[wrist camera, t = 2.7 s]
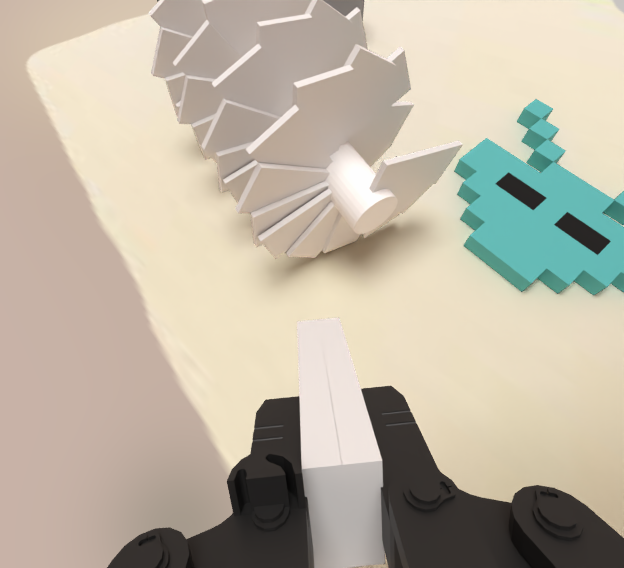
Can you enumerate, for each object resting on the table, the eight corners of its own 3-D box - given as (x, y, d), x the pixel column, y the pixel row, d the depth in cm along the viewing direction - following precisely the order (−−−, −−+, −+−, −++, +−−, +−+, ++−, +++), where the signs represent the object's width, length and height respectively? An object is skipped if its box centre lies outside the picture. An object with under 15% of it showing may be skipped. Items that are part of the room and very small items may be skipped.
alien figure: (526, 115, 44) (411, 207, 39) (536, 98, 42) (416, 193, 37) (697, 217, 37) (585, 346, 32) (718, 203, 35) (602, 338, 30)
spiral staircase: (323, 299, 38) (218, 143, 47) (469, 187, 35) (325, 39, 43) (216, 266, 22) (83, 32, 30) (475, 40, 18) (239, -154, 26)
